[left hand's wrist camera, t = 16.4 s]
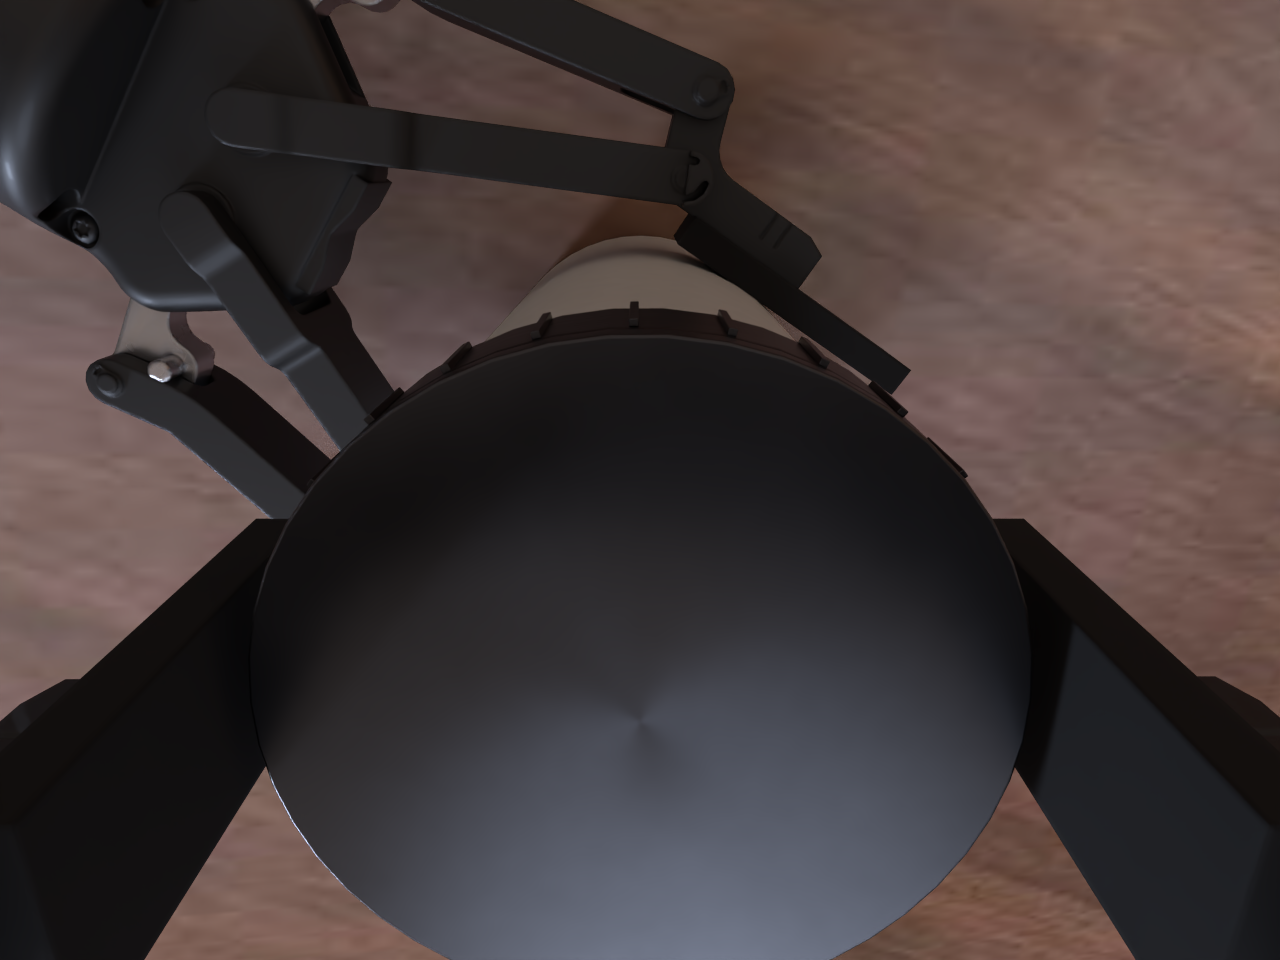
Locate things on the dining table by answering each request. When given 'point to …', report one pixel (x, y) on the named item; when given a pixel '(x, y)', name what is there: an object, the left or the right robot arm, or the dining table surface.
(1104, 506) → the dining table surface
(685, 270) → the jar
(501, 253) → the dining table surface
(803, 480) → the lid
